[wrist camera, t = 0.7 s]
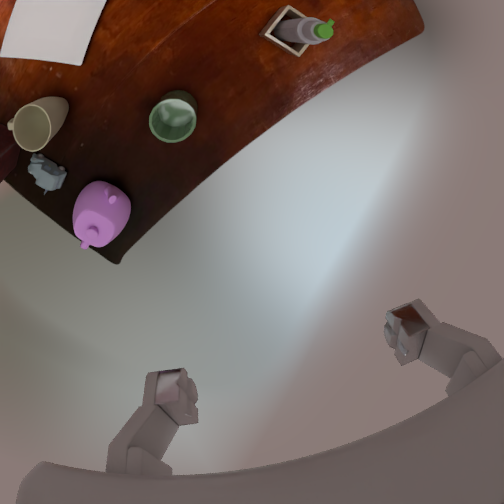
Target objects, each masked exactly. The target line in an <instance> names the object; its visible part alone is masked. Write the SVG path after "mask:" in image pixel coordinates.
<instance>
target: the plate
mask: <svg viewBox="0 0 504 504" xmlns="http://www.w3.org/2000/svg"><path fill="white" fill-rule="evenodd" d="M106 1H107V0H17V1H16V3H15V6H14V9H13V12H12V14H11V17H10V20H9V24H8V27H7V30H6V33H5V37H4V41H3V44H2V48H1V53H0V57H11V58H26V59H36V60H45V61H53V62H60V63H67V64H73V65H79V66H80V65H81V64H82V61H83V58H84V55H85V52H86V49H87V47H88V44H89V41H90V38H91V36H92V33H93V31H94V28H95V26H96V23H97V21H98V18H99V16H100V14H101V11H102V9H103V7H104V5H105V3H106Z"/></svg>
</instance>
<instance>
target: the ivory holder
mask: <svg viewBox="0 0 504 504" xmlns="http://www.w3.org/2000/svg"><path fill="white" fill-rule="evenodd" d="M285 14H286V15H287V16H289V17H290V18H292V19H299V18H307V17H306V16H305V15H303V14H302V13H300V12H299V11H297V10H296V9H294V8H293V7H291V6H290V5H286V6H283V7H280V8H279V9H278V10H277V12H276V13H275V14H274V15H273V17H272V18H271V19H270V20H269V22H268V23H267V24H266V25H265V27H264V28H263V29H262V31H261V32H260V33H259V36H261V37H263V38H264V39H266V40H268V41H269V42H271V43H273V44H274V45H276V46H277V47H279V48H281V49H282V50H284V51H285V52H287V53H288V54H290V55H294V56H297V57H300V56H301V54H302V53H303V52H304V51H305V49H306V48H307V47H308V46H309V44H305V43H297V42H296V43H295V44H294V45H293V47H292V48H291V47H289V46H288V45H286V44H284V43H283V42H281V41H280V40H278V39H277V38H275V37H273V36H272V35H270V32H271V31H272V30H273V28H274V27H275V26H276V25H277V23H278V22H279V21H280V20H281V18H282V17H283V16H284V15H285Z"/></svg>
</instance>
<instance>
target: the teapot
mask: <svg viewBox="0 0 504 504" xmlns="http://www.w3.org/2000/svg"><path fill="white" fill-rule="evenodd" d="M130 212H131V203H130V200H129V198H128V197H127V195H126V194H125V193H124V192H122V191H121V190H120V189H119V188H117V187H116V186H113V185H111V184H109V183H107V182H104V181H94V182H92V183H90V184H88V185H87V186H86V187H85V188H84V189H83V190H82V191H81V192H80V194H79V196H78V198H77V200H76V203H75V206H74V211H73V227H74V232H75V234H76V236H77V237H78V238H80V239H81V240H82V242H81V244H80V247H81V248H82V249H87V248H88V247H89V245H92V246H95V247H102V246H104V245H106V244H108V243H109V242H110V241H112V240H113V239H114V238H115V237H116V236H117V235H118V234H119V233H120V232H121V231H122V230H123V228H124V227H125V225H126V223H127V221H128V219H129V216H130Z"/></svg>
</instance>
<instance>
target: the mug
mask: <svg viewBox="0 0 504 504" xmlns="http://www.w3.org/2000/svg"><path fill="white" fill-rule="evenodd" d="M68 110H69V105H68V102H67V101H66V100H65V99H64V98H61V97H45V98H41V99H39V100H36V101H34V102H32V103H30V104H27V105H25V106H23V107H22V108H21V109H20V110H19V111H18V112H17V114H16V115H15V118H13V119H11V120H10V121H9V122H8V129H9V130H13V135H14V138H15V140H16V142H17V143H18V145H19V146H20V147H21V148H23V149H24V150H27V151H31V152H34V151H38V150H40V149H42V148H43V147H44V146H45V145H46V144H47V143H48V142H49V141H50V140H51V138H52V137H53V136H54V135H55V134H56V133H57V132H58V131H59V129H60V128H61V126H62V124H63V122H64V120H65V118H66V116H67V113H68Z"/></svg>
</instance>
